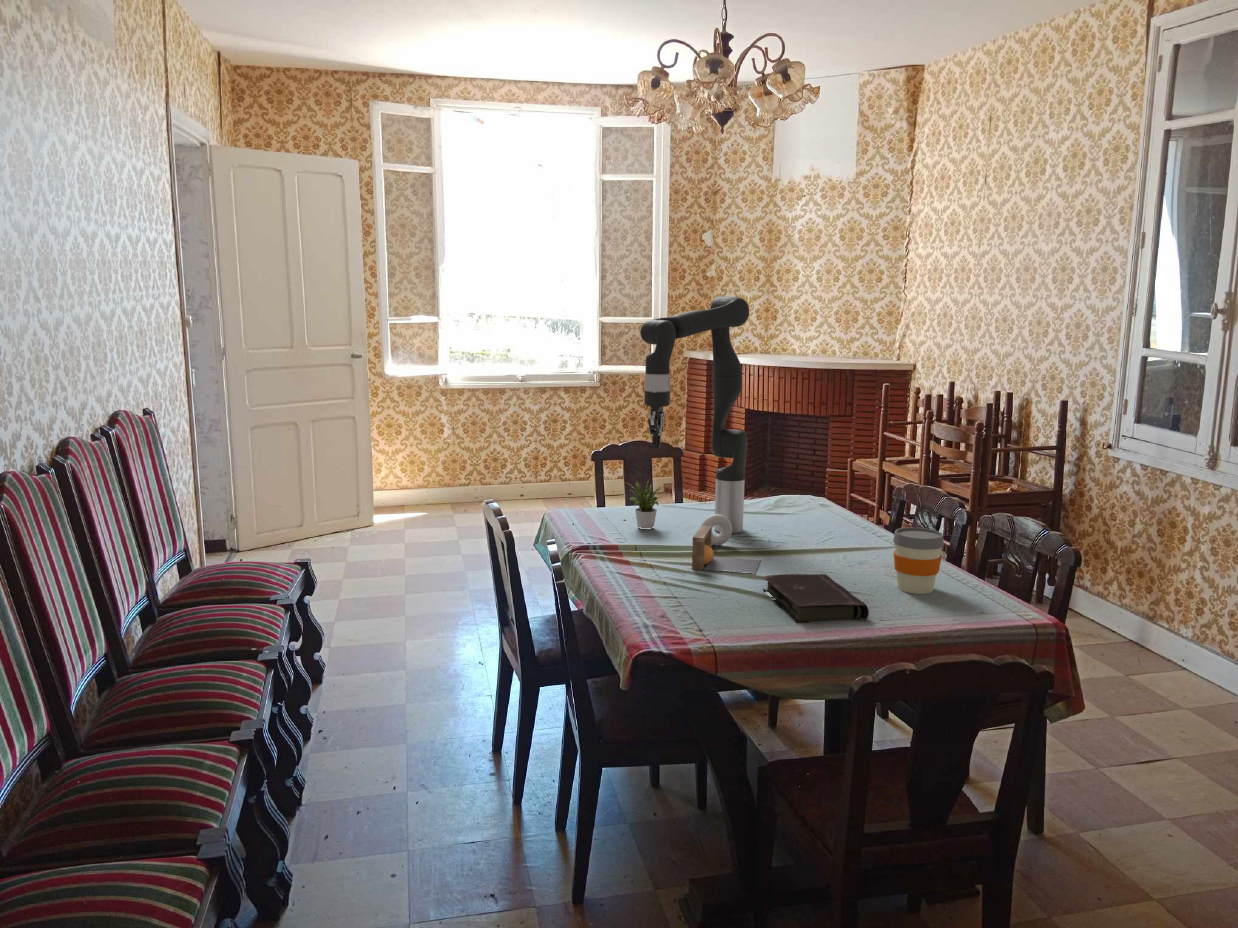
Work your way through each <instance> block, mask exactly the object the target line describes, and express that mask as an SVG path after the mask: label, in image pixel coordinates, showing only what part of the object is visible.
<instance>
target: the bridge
mask: <svg viewBox="0 0 1238 928" xmlns="http://www.w3.org/2000/svg"><path fill="white" fill-rule="evenodd" d="M712 534H713V527H712V526H700V527H699V528H698V529H697V531H696V533H695V534H694V535H693V536H692V549H691V550H692V551H691V552H692V554H691V555H692V557H691V558H692V559H691V570H693V571H694V570H696V571H703V570H705V564H704V545H708V546H709V547H711V548H712V545H711V538H712Z"/></svg>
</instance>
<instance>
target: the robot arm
mask: <svg viewBox="0 0 1238 928" xmlns="http://www.w3.org/2000/svg"><path fill="white" fill-rule="evenodd" d="M749 316H750V305H749V304H748V302H747V301H746V300H745V299H744V298H741V297H737V296H726V295H725V296H721V295H720V296H716V297H714V298H713V300H712V301H711V303H710V307H709V308H708V309H697V310H696V309H695V310H691V311H685V312H681V313H678V314H674V315H671V316H666V317H665V316H664V317H659V318H653V319H648V320H647V321H645V322H644V323H643V324H642V325H641V328H640V337H641V339H642V341H643V342H644V343H646V344H648V345H655V348H654V351H653V352H651V353H648V354H647V355H646V356H645V376H644V384H643V385H644V386H643V387H644V388H643V389H644V392H643V394H644V395H643V398H644V399H643V405H644V406H646V407H650V412H648V419H647V424H648V429H649V434H650V435H651V436H652V440H651V441H652V442H651V448H653V449H660V448H661V447H662V446H661V445H662V443H661V439H662V438H661V437H662V434H663V432H664V427H665V420H666V412H665V411H664V407H668V406H670V405H671V376H670V375H671V374H670V372H671V371H670V366H671V365H670V364H671V362H670V361H671V357H672V354H673V349H674V346H675V343H676V339H677V340H678V339H683V338H687V337H690V336H693V335H696V334H697V335H698V334H700V333H703V332H707V331H710V332H711V344H712V389H713V390H712V393H713V396H712V397H713V414H712V415H713V416H712V427H711V429H712V430H711V451H712V454H713V456H714V457H717V458H725V459H732V463H731V464H729V465H727V466H724V467H720V468H718V469H716V472H715V496H714V497H715V501H714V502H715V504H714V506H715V507H714V514H721V515H724V516H726V517H727V518H728V519H729V520H730V522H731V524H732V529H733V530H732V533H733V534H739V533H742V532H743V531H744V510H745V509H744V507H745V506H744V505H745V475H746V467H747V466H746V465H747V454H748V435H747V433H746V432H745V431H744V430H741V429H732V428H731V429H730V428H729V429H728V428H726V421H727V418H728V415H729V413H730V410H731V409H732V407H733V406H734V404H735V403H736V401H737V399H738V398H739V396H740V394H741V392H742V389H743V367H742V364H741V361H740V359H739V357H738V355H737V354H736V350H735V349H734V347H733V345H732V342H731V336H730V328H738V327H742V326H743V325H744V324H745V323H746V322H747V321H748V319H749ZM715 530H716V531H715ZM721 530H722V529H721V526H720V525H715V526H714V531H715V532H717V531H718V532H717V533H720V532H721Z"/></svg>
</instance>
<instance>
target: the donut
mask: <svg viewBox="0 0 1238 928" xmlns="http://www.w3.org/2000/svg"><path fill="white" fill-rule="evenodd" d="M715 525H720V526H721V529H722V530H721V532H719V533H718V534H714V533H712V538H711V546H713V545H719V546H722V545H724V544H727V542H728V541H729V540H730V538H731V536H732V535H733V534H732V530H733V529H732V524H731V522H730V520H729V519H728V518H727V517H726V516H724V515H721V514H715V513H714V514H710V515H709V516H707V517H706V518H704V520H703V522H702V523H701V526H712V528H713V527H715ZM701 526H700V527H701Z"/></svg>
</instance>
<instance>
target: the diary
mask: <svg viewBox="0 0 1238 928" xmlns="http://www.w3.org/2000/svg"><path fill="white" fill-rule="evenodd" d="M763 579H764V580H766V581H767V587H766V589H765V588H762V590H763V593H764V592H766V591H767V592H769V593H770V594H771V595H772V596H773V597H771V598H775V599H776V600H771V601H772V602H773V603H774V604H776V605H777V606H778V607H779V608H780V609H781V610H782V611H784V610H785V611H786V612H787V613H788V614H789V615H790V617H791V618H792V621H793V622H794V623H795V624H810V623H811V622H825V621H845V620H847V621H848V620H853V619H855V620H858V619H859V618H862V619H863V620H864V621H867V620H868V618H869V613H870V610H869V607H868V605H867V604H866V603H865V602H863V601H862V600H861V599H859V598H857V597H856V596H855V595H853V594H852V593H851V592H849V590H847V589H846V588H845V587H844V586H842V585H840V583H837V582H836V581H835V580H834V579H832V578H831V577H830V576H829V574H827V573H826V574H825V573H822V574H821V573H820V574H817V573H816V574H815V573H814V574H809V573H807V574H804V573H802V574H801V573H799V574H798V573H792V574H791V573H789V574H788V573H787V574H786V573H784V574H781V573H780V574H772V575H771V574H770V575H763Z"/></svg>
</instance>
